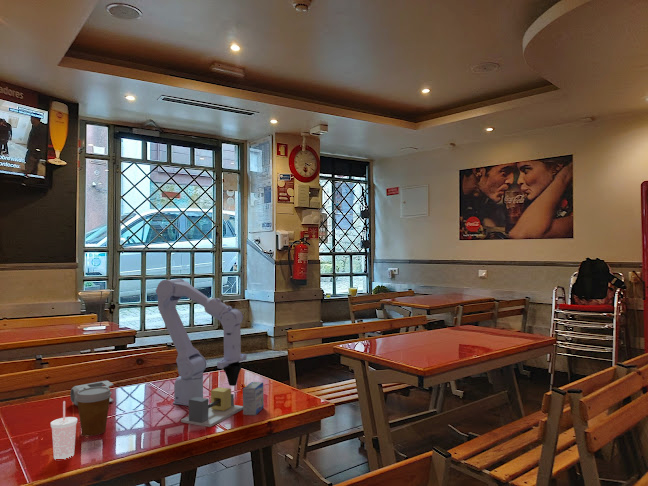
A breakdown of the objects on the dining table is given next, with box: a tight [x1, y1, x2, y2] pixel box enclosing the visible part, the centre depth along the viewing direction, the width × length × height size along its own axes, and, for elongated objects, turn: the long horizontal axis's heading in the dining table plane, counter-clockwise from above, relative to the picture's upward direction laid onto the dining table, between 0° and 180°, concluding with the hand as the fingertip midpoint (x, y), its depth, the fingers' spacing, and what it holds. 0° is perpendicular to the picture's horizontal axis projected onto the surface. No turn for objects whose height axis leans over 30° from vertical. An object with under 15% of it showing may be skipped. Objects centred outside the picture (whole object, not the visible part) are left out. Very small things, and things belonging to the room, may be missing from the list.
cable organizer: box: [69, 380, 115, 407], centre depth 165 cm, size 7×12×12 cm
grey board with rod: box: [180, 393, 243, 428], centre depth 151 cm, size 11×18×7 cm, turn 156°
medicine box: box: [242, 381, 265, 416], centre depth 155 cm, size 8×4×9 cm, turn 168°
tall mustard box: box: [210, 386, 232, 411], centre depth 155 cm, size 5×4×6 cm
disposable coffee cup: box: [76, 387, 113, 437], centre depth 138 cm, size 10×10×12 cm
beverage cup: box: [50, 400, 78, 460], centre depth 122 cm, size 6×6×14 cm
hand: (232, 385), depth 161 cm, fingers closed
